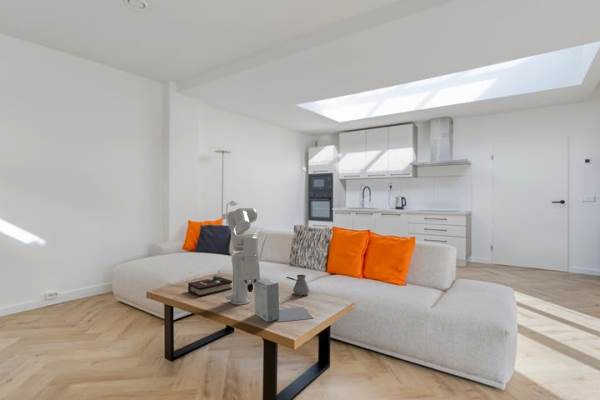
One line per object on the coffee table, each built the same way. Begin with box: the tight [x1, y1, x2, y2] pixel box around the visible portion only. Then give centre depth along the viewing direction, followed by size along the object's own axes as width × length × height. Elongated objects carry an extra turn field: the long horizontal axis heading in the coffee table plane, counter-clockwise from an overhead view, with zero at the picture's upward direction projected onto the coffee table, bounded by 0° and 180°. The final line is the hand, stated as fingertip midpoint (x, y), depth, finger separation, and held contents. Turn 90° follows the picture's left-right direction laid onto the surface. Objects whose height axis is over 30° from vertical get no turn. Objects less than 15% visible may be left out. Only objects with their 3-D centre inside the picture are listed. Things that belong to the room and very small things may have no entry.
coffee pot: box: [285, 274, 310, 297], centre depth 212 cm, size 21×12×15 cm, turn 141°
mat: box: [276, 306, 314, 323], centre depth 178 cm, size 20×18×1 cm
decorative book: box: [187, 275, 233, 298], centre depth 223 cm, size 19×8×30 cm
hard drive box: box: [253, 277, 280, 323], centre depth 174 cm, size 16×8×20 cm, turn 35°
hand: (250, 291), depth 172 cm, fingers closed
